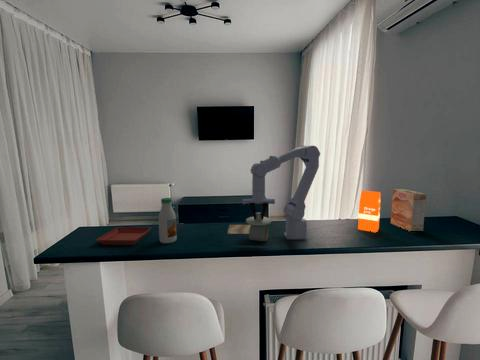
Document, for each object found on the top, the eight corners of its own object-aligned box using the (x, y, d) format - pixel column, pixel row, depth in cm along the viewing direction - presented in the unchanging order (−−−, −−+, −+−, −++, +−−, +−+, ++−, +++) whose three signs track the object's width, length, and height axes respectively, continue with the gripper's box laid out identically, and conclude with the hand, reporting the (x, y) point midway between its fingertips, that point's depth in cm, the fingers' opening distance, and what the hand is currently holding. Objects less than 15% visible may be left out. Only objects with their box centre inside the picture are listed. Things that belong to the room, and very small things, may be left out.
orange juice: (360, 225, 138) (362, 189, 135) (378, 228, 133) (381, 191, 130) (357, 229, 132) (359, 191, 129) (376, 232, 126) (379, 193, 124)
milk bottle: (161, 245, 113) (159, 201, 110) (158, 239, 119) (156, 197, 117) (178, 241, 116) (176, 199, 113) (174, 236, 123) (172, 196, 120)
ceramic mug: (266, 244, 112) (266, 227, 111) (248, 242, 114) (248, 226, 113) (270, 236, 122) (270, 221, 121) (253, 235, 124) (253, 220, 124)
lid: (269, 217, 122) (269, 209, 122) (273, 225, 111) (273, 217, 110) (245, 217, 122) (245, 210, 121) (246, 225, 110) (246, 217, 110)
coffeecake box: (389, 223, 141) (392, 188, 139) (401, 222, 142) (404, 188, 140) (410, 232, 127) (413, 194, 124) (423, 231, 127) (427, 193, 125)
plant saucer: (117, 232, 130) (117, 226, 130) (152, 233, 129) (151, 227, 128) (96, 246, 112) (95, 239, 112) (135, 247, 111) (135, 240, 111)
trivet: (255, 226, 137) (255, 224, 137) (255, 235, 123) (256, 233, 123) (229, 226, 138) (229, 224, 137) (227, 235, 124) (227, 233, 124)
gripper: (273, 188, 118) (273, 216, 120) (242, 188, 118) (242, 216, 120) (275, 191, 111) (275, 221, 113) (242, 191, 111) (242, 221, 113)
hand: (258, 219), depth 116 cm, fingers closed on lid, 3 cm apart
